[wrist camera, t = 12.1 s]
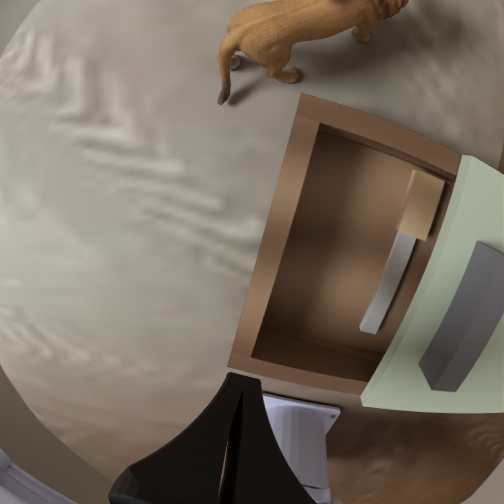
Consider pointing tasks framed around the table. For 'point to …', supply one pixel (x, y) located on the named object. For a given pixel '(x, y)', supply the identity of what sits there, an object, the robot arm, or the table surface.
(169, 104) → the table surface
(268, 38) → the lion figurine
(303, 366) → the wooden box
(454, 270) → the lid
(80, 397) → the table surface
